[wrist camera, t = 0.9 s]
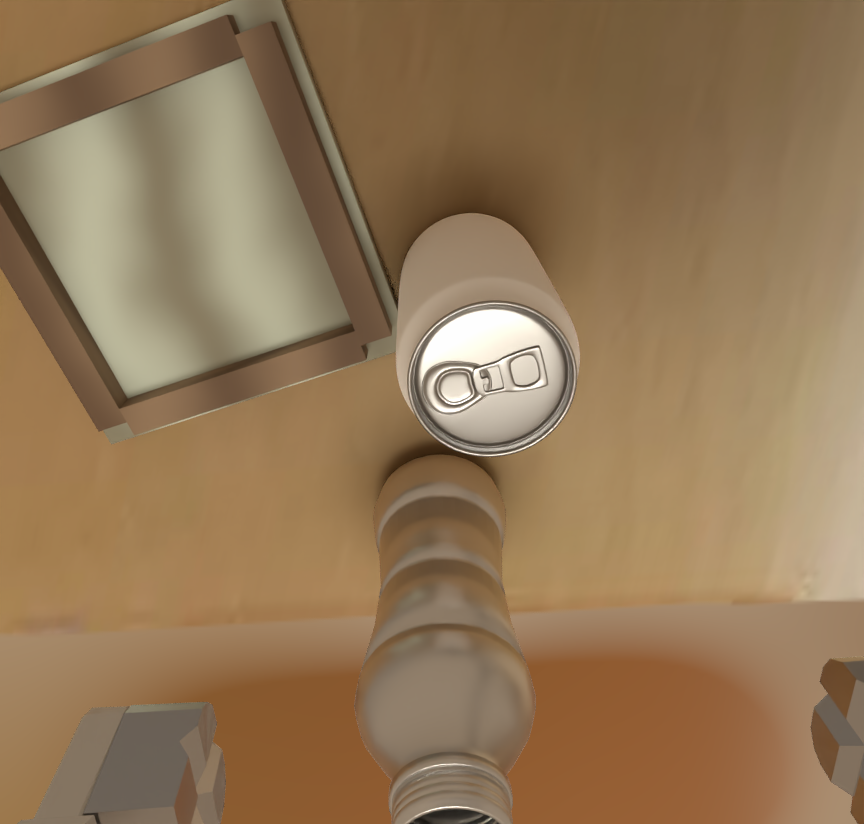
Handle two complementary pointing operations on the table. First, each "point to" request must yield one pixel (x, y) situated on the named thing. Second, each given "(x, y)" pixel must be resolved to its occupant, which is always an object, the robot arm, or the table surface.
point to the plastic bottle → (443, 649)
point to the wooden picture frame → (188, 222)
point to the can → (483, 338)
